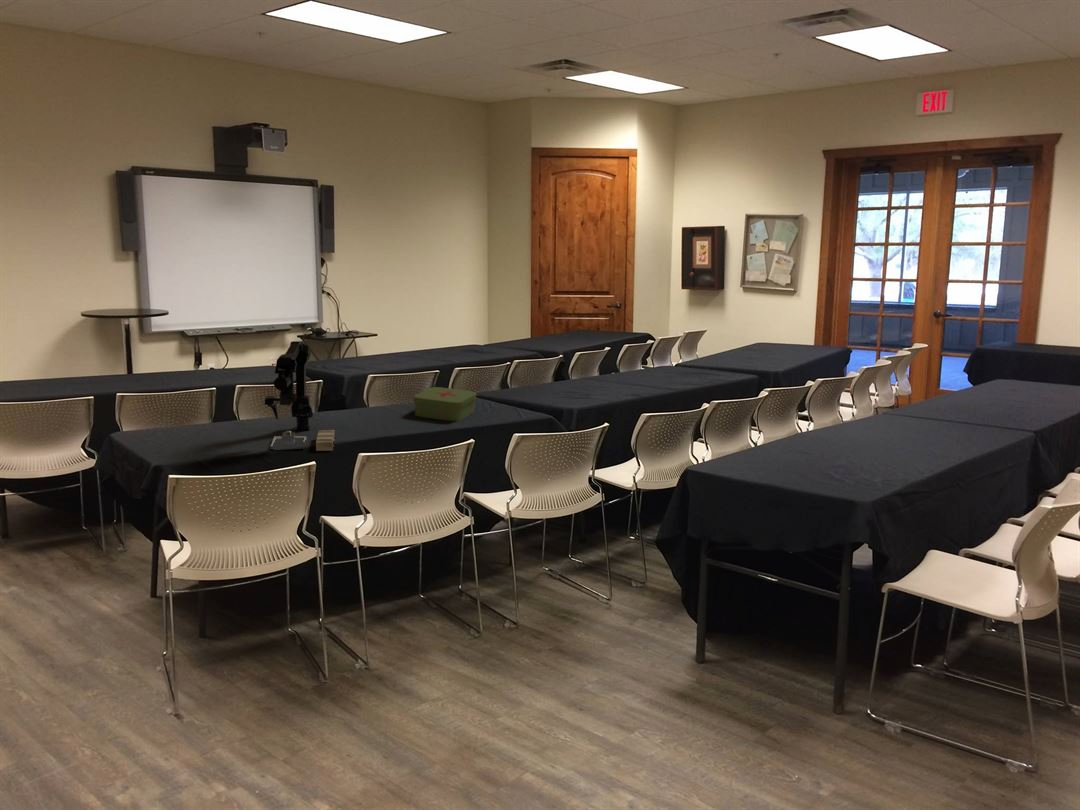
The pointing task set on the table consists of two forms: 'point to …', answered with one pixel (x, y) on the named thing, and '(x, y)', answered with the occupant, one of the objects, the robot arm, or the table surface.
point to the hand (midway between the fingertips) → (287, 419)
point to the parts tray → (281, 438)
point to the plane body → (325, 440)
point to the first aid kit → (444, 403)
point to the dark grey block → (288, 437)
